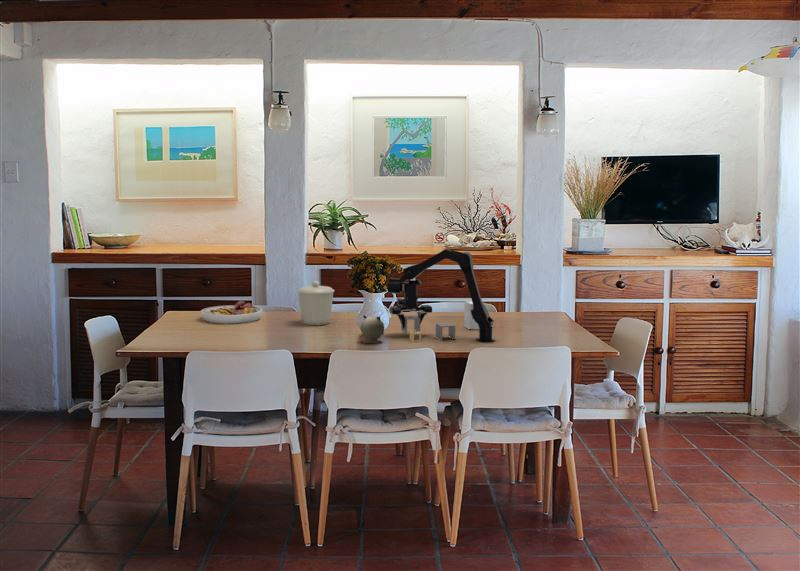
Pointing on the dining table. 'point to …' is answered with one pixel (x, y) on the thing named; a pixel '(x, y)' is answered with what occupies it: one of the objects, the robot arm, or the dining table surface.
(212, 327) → the dining table surface
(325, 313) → the canister
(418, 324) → the cover
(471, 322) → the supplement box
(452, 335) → the cover
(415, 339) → the letter cube
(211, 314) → the bowl
